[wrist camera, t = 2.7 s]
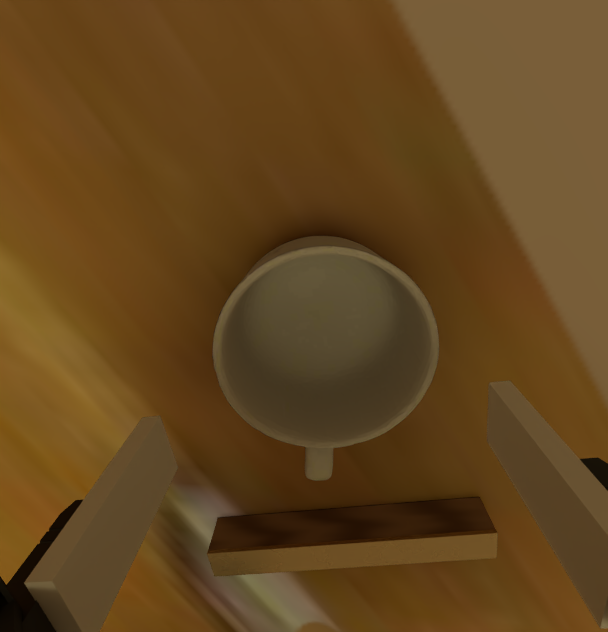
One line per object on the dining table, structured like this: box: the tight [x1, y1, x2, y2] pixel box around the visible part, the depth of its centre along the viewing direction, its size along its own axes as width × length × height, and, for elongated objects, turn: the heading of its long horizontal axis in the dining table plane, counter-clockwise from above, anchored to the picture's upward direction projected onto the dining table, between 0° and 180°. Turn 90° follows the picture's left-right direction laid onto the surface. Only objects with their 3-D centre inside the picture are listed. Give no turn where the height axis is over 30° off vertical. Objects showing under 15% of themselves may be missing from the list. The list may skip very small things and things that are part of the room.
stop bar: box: [207, 497, 498, 576], centre depth 30 cm, size 22×3×3 cm, turn 98°
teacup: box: [212, 236, 439, 481], centre depth 22 cm, size 14×11×8 cm
